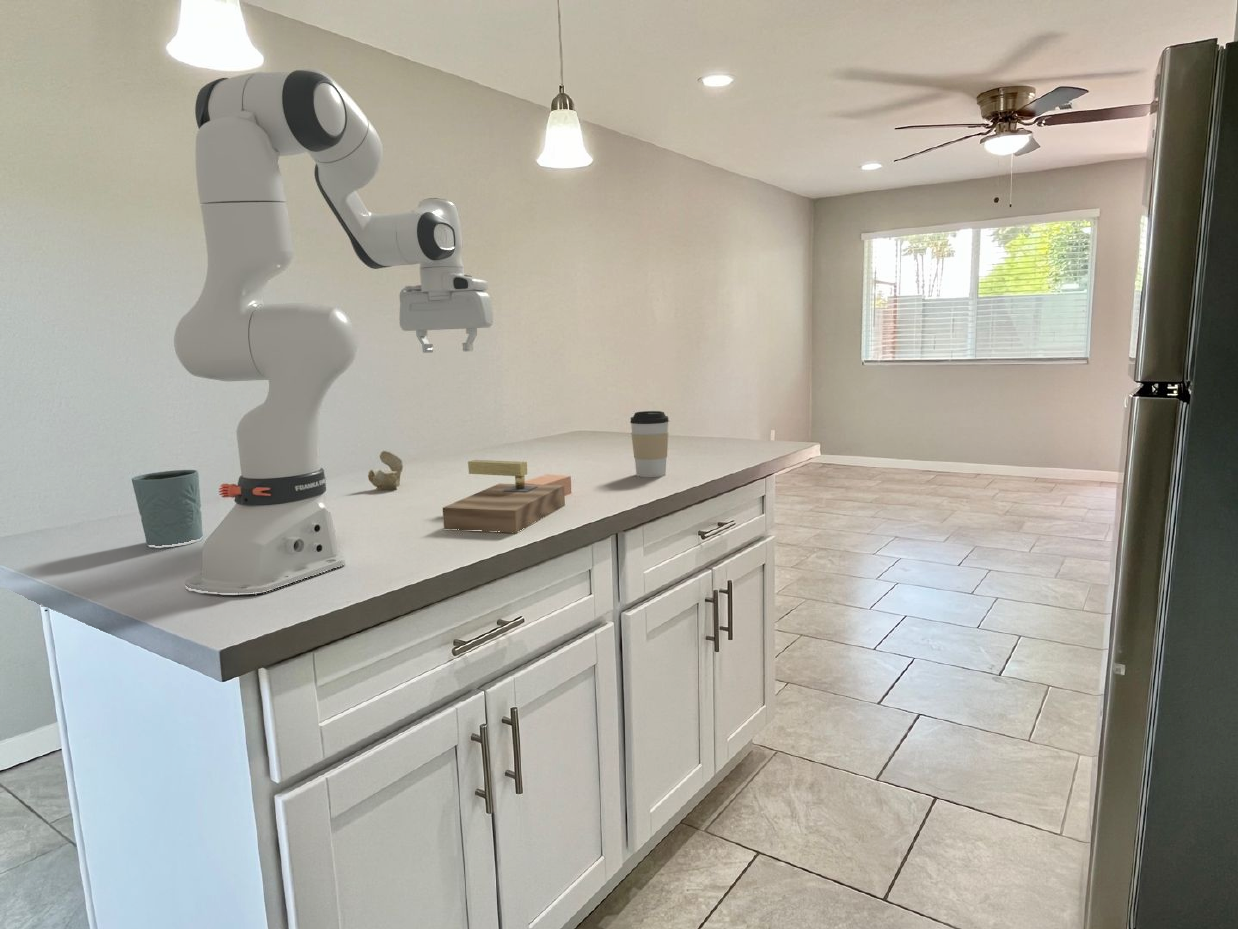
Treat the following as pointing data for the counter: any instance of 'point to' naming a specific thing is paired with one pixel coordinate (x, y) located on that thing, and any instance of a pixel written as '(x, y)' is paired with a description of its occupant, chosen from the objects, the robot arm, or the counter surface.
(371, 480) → the tan squirrel figurine
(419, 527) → the counter surface
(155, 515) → the green embossed plant pot
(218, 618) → the counter surface
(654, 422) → the coffee cup
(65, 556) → the counter surface
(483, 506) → the base
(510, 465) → the yellow lever handle
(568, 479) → the salmon orange block
